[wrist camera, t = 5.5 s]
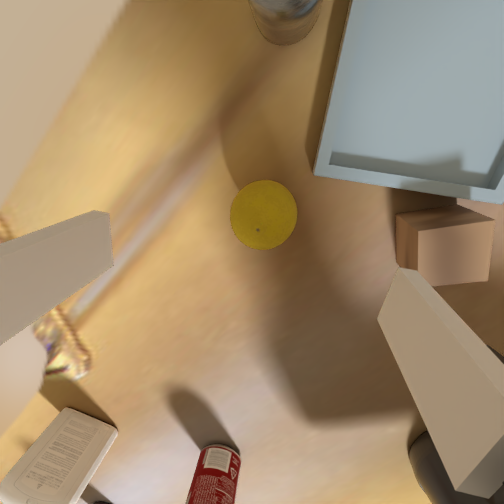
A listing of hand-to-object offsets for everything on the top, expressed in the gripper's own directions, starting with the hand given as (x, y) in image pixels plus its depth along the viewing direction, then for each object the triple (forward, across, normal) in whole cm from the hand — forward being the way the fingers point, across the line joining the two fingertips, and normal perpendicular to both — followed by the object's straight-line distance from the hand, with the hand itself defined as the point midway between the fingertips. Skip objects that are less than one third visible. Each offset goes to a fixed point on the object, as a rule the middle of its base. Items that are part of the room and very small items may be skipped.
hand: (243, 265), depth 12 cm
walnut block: (+15, -15, +1) cm, 21 cm away
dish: (+15, -11, -11) cm, 21 cm away
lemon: (+15, 0, 0) cm, 15 cm away
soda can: (+15, +1, +42) cm, 45 cm away
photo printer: (+15, +24, +43) cm, 51 cm away
